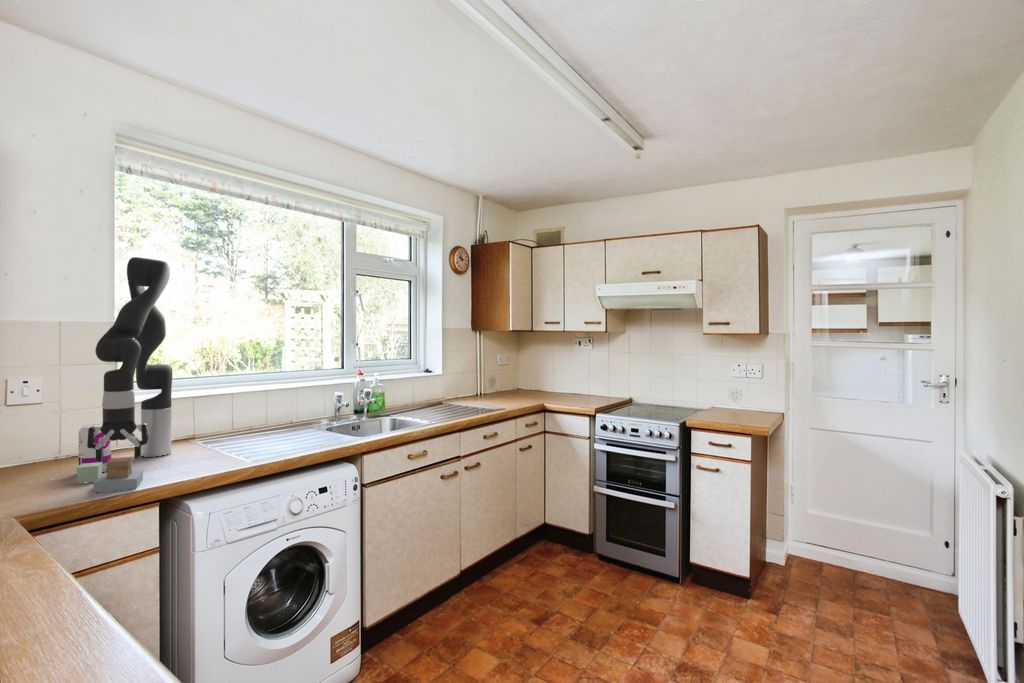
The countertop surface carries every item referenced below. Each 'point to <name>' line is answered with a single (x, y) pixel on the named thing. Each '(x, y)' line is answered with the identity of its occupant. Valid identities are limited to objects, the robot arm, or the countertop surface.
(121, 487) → the slate base
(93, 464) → the sage cube
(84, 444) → the supplement can
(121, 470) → the walnut cube
